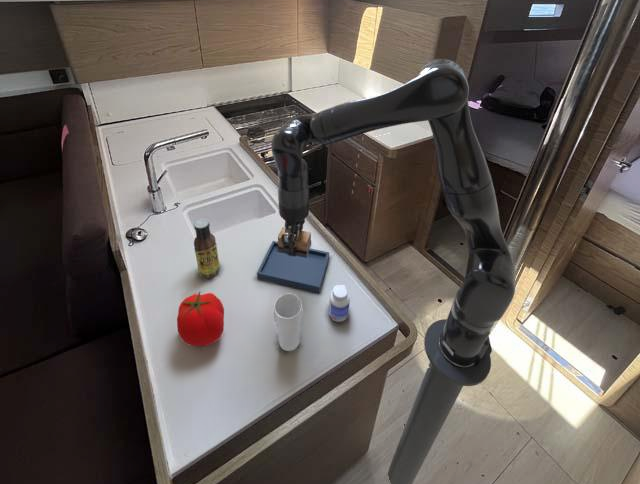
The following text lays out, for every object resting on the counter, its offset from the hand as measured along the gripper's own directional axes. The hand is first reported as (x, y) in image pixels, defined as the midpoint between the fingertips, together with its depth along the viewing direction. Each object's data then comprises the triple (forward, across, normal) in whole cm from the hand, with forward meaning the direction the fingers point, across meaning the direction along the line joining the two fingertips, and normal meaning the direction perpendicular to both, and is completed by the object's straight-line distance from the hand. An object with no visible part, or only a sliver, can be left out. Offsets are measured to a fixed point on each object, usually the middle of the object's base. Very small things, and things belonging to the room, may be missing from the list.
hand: (294, 247), depth 88 cm
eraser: (0, 0, 0) cm, 0 cm away
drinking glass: (+17, -16, -3) cm, 23 cm away
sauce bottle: (+17, -1, +28) cm, 33 cm away
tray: (+17, +7, +2) cm, 19 cm away
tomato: (+17, -19, +19) cm, 32 cm away
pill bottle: (+17, -5, -14) cm, 23 cm away
